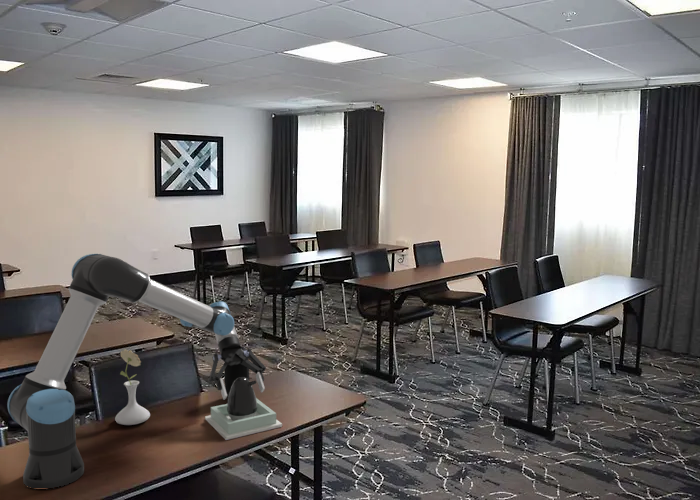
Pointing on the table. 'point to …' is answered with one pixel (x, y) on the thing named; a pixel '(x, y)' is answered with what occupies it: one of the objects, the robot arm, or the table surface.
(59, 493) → the table surface
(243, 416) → the black rounded tall piece
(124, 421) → the flower in vase
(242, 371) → the portable speaker
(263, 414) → the holder
